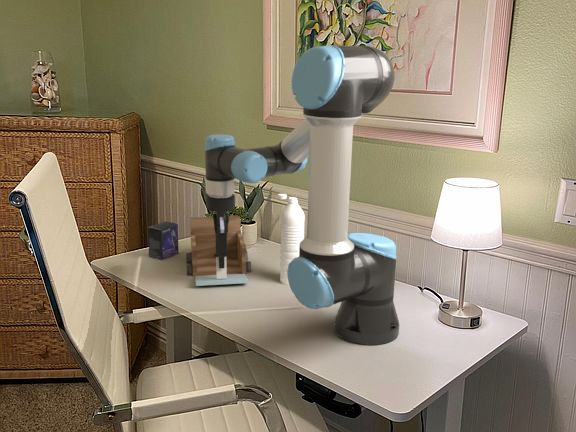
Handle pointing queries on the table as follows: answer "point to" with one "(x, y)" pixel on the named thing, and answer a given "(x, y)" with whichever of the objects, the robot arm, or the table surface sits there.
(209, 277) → the panel
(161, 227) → the box
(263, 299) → the table surface
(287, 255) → the water bottle
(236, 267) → the box
